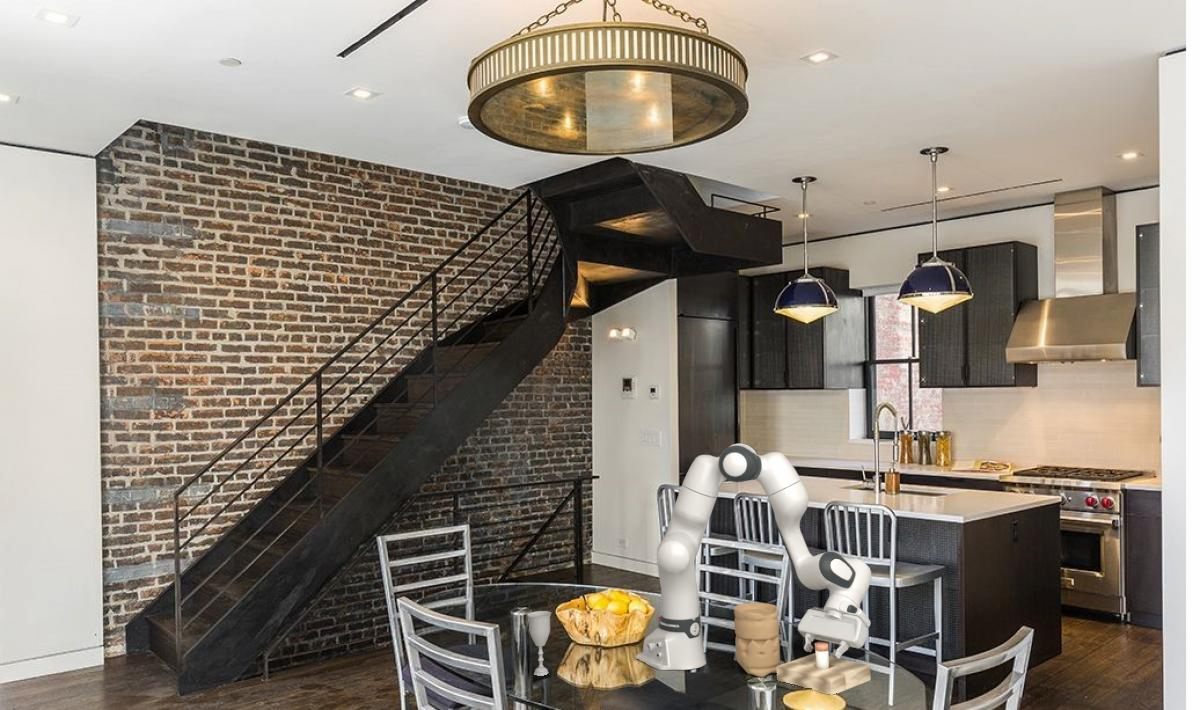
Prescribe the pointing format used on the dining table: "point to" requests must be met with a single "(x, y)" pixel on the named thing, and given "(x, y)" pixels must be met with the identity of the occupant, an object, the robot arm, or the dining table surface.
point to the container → (757, 638)
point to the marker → (822, 655)
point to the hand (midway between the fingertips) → (821, 653)
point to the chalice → (539, 635)
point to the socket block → (824, 674)
